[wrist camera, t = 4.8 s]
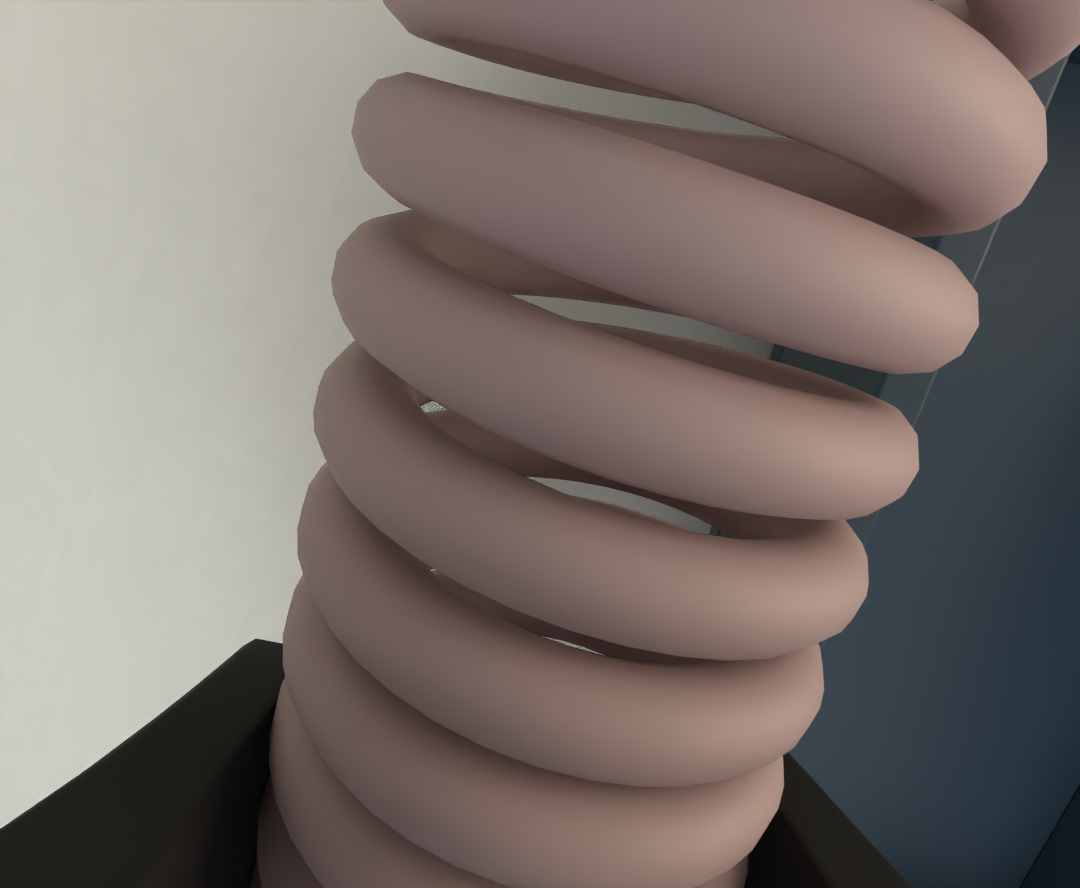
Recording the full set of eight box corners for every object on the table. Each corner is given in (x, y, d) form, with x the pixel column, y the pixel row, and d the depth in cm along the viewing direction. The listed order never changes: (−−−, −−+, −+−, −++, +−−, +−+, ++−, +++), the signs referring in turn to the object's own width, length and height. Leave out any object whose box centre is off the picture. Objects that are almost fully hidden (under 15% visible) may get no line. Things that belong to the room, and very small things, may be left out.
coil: (550, 1588, 9) (1519, -324, 3) (122, 1643, 8) (404, -884, 2) (514, 1120, 13) (895, -44, 8) (233, 1121, 12) (427, -200, 7)
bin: (1470, 136, 14) (1869, 118, 10) (985, 958, 21) (1101, 1152, 17) (902, -31, 13) (1083, -131, 9) (585, 894, 20) (602, 1085, 16)
